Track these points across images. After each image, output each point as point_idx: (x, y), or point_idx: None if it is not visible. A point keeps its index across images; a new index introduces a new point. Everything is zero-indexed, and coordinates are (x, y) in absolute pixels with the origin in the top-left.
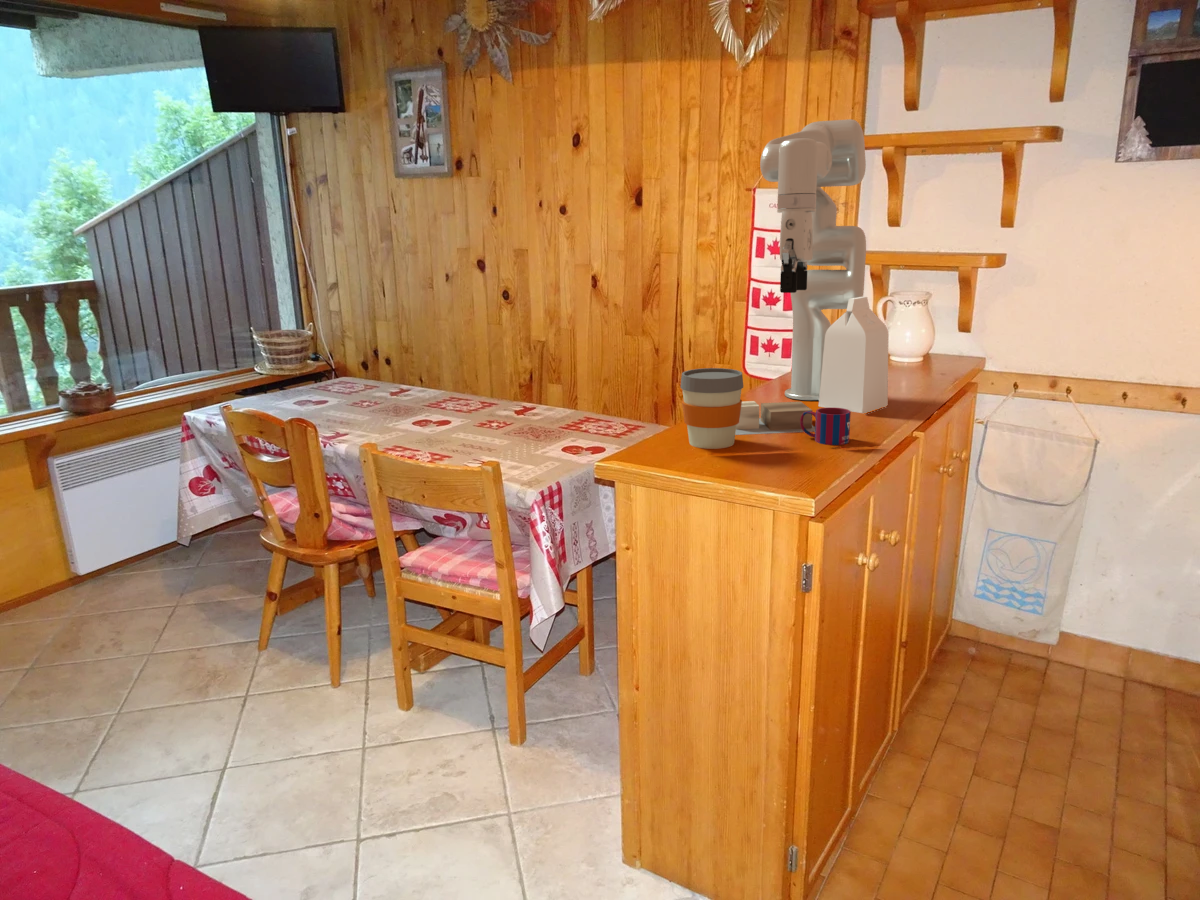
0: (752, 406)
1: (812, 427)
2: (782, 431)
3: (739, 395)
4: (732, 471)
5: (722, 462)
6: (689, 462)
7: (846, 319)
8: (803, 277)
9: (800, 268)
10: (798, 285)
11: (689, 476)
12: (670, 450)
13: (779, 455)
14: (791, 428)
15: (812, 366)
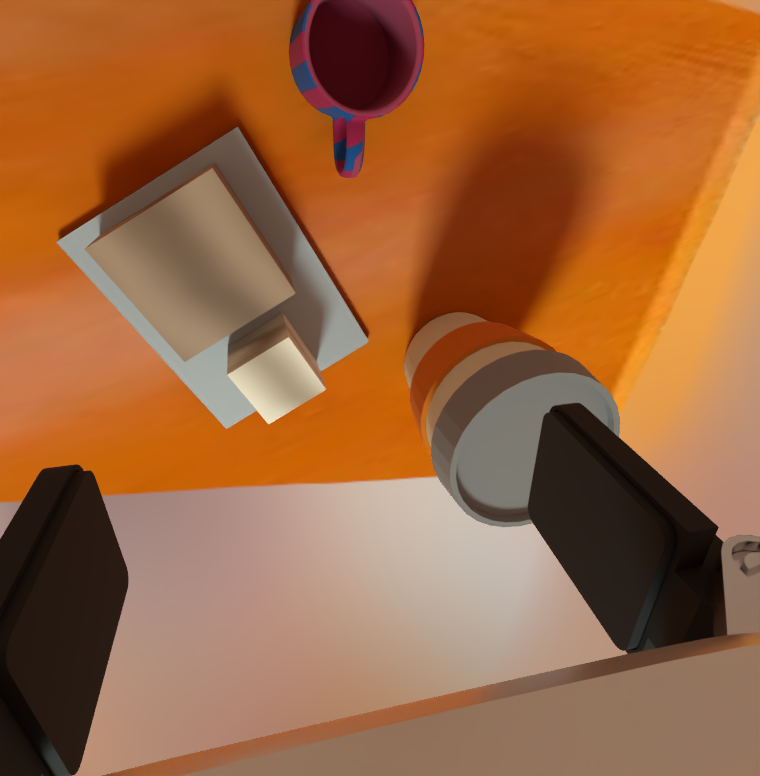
0: (300, 353)
1: (199, 163)
2: (290, 240)
3: (519, 348)
4: (629, 245)
5: (571, 288)
6: (579, 346)
7: None
8: (51, 597)
9: (3, 769)
10: (99, 559)
11: (663, 309)
12: None
13: (498, 183)
14: (254, 223)
15: None
